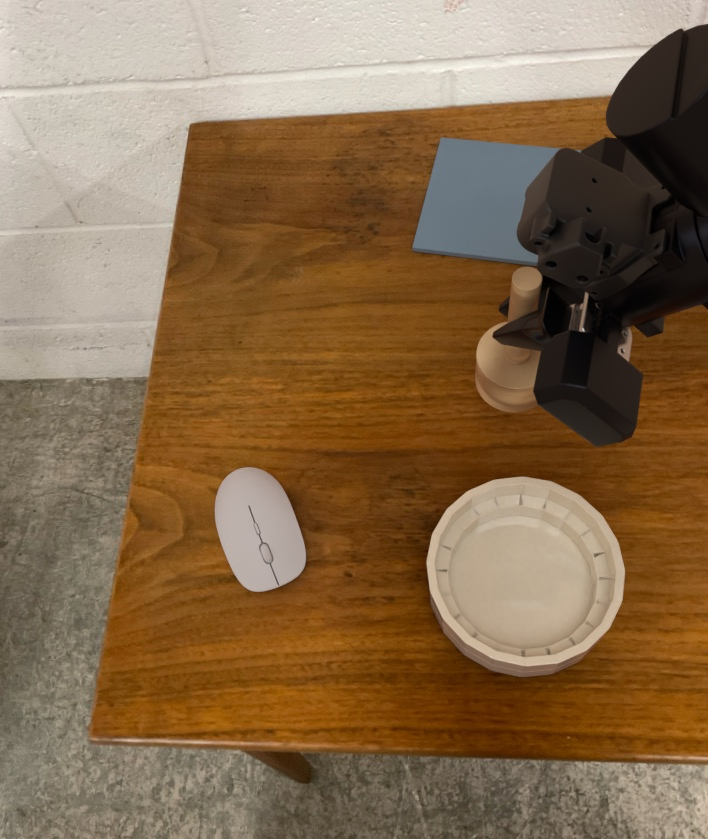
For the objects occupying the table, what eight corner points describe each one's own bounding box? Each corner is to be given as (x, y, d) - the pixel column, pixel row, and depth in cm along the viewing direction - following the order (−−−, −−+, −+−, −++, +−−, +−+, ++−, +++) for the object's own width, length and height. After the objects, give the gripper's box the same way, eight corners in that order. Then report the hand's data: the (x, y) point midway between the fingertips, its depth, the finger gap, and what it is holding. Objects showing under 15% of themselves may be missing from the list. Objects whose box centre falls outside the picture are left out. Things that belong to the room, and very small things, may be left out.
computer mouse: (244, 604, 60) (235, 594, 57) (208, 492, 65) (198, 477, 62) (318, 574, 61) (312, 562, 58) (277, 465, 65) (270, 449, 63)
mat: (649, 161, 76) (650, 156, 75) (637, 279, 70) (638, 274, 69) (440, 141, 80) (440, 137, 79) (412, 251, 74) (412, 247, 73)
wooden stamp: (567, 368, 59) (592, 265, 48) (527, 426, 57) (544, 331, 46) (500, 335, 61) (510, 228, 50) (460, 389, 59) (462, 290, 48)
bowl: (620, 517, 60) (632, 495, 56) (602, 697, 55) (614, 686, 51) (446, 486, 63) (446, 462, 59) (412, 654, 57) (409, 640, 53)
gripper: (653, 10, 41) (445, 148, 53) (606, 301, 33) (374, 386, 46) (764, 144, 47) (551, 242, 59) (746, 423, 39) (504, 470, 51)
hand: (499, 325), depth 53 cm, fingers closed on wooden stamp
